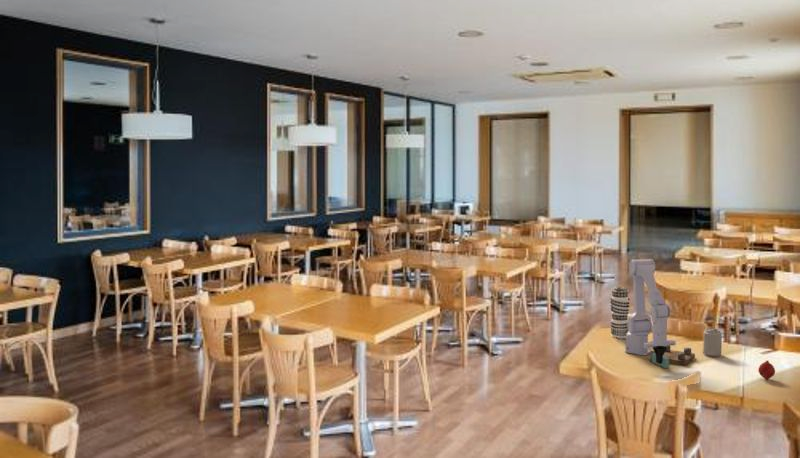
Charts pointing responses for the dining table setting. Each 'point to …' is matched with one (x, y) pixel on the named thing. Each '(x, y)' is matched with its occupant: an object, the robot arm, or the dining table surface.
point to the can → (712, 342)
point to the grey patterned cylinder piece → (619, 312)
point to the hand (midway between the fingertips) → (659, 362)
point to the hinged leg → (664, 362)
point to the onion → (766, 370)
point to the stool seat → (679, 356)
